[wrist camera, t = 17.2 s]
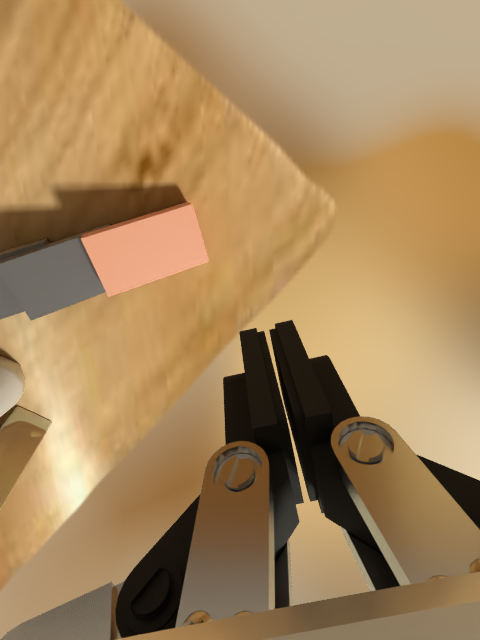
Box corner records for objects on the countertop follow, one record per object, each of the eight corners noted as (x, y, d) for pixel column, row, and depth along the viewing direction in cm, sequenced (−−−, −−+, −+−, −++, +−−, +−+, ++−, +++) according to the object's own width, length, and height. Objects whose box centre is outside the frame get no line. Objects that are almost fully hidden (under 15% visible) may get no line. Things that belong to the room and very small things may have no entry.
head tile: (187, 202, 29) (82, 234, 27) (192, 204, 27) (80, 238, 25) (203, 256, 31) (108, 289, 29) (209, 261, 30) (108, 297, 28)
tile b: (46, 237, 30) (-67, 271, 28) (44, 241, 28) (-78, 278, 26) (72, 288, 32) (-31, 323, 30) (71, 295, 30) (-38, 332, 28)
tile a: (109, 223, 29) (0, 259, 27) (110, 226, 28) (-5, 265, 26) (132, 275, 32) (34, 312, 30) (134, 280, 30) (31, 320, 28)
